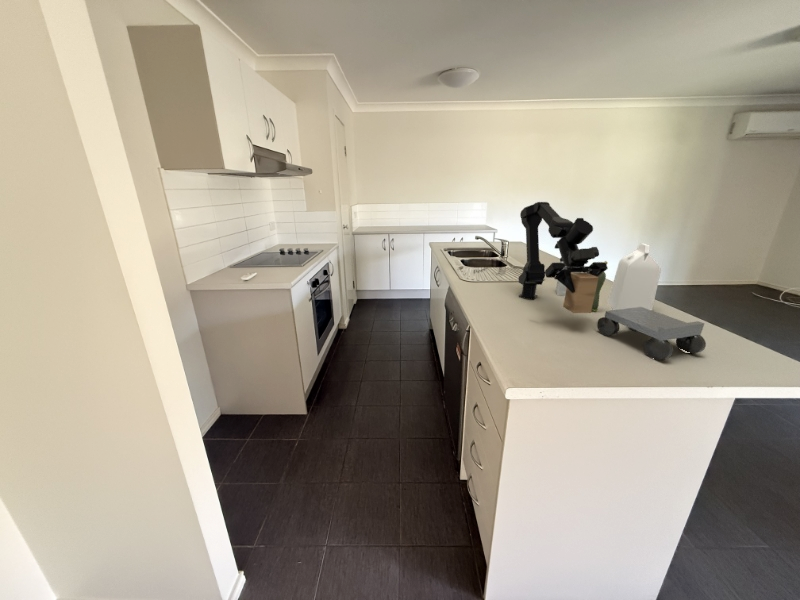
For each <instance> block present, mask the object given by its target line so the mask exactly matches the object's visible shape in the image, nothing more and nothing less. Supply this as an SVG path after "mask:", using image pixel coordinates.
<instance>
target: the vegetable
mask: <svg viewBox="0 0 800 600" xmlns="http://www.w3.org/2000/svg"><path fill="white" fill-rule="evenodd" d="M603 262H604V263H606V265H607V266H608V261H607V260H605V261H603ZM606 274H607V273H606V272H605V271H604V272H603V273H602V274H600V275H599V276H597V277H599V278H598V283H597V287H596V292H595V296H594V301H593V305H592V310H591V312H592V311H593V312H594V313H596V312H597V311H598V307H599V306H600V305H599V304H600V293H601V291H602V287H603V286H604V283H605V280H606V278H607V277H606V276H607V275H606Z"/></svg>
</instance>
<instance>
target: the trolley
mask: <svg viewBox="0 0 800 600" xmlns="http://www.w3.org/2000/svg"><path fill="white" fill-rule="evenodd" d="M705 324H706V323H704V322H702V321H697V320H696V321H690V322H685V321H684V320H680V319H678V318H676V317H675V318H674V317H671V316H668V315H666V314H663V313H660V312H657V311H654V310H653V309H652V310H649V309H646V308H643V307H636V308H627V309H619V310H613V309H611V310H606V311H605V313H604V316H603V317H600V318H599V319H598V320H597V323H596V327H597V331H598V332H599V333H600V334H601V335H603V336H613V335H616V334H618V333H619V331H620V325H622V326H626V327H628V329H629V330H631V329H632V330H634V331H633V332H640V333H642V334H644V335H647V336H649V337H651V338H648V339H647V340H646V341H645V342H644V345H643V348H644V349H643V350H644V352H645V354H646V355H647V357H649V356H650V357H652V358H654V359H653V360H655V359H656V361H660V360H666V359H669V358H670V357H672V355H673V353H674V348H673V345H672V344H671V342H670V341H669V340H675V339H676V340H675V344H676V346H677V349H679V348H680V349H683V350H685V351H687V352H690V353H692V354H693V355H694V354H698V353H701V352H703V351H704V350H706V345H707V343H706V340H705V338H704V337H703V336H702V333H703V329H704V325H705ZM632 330H631V331H632ZM680 349H679V350H680ZM692 354H691V355H692ZM650 357H649V358H650ZM652 358H651V359H652Z"/></svg>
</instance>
